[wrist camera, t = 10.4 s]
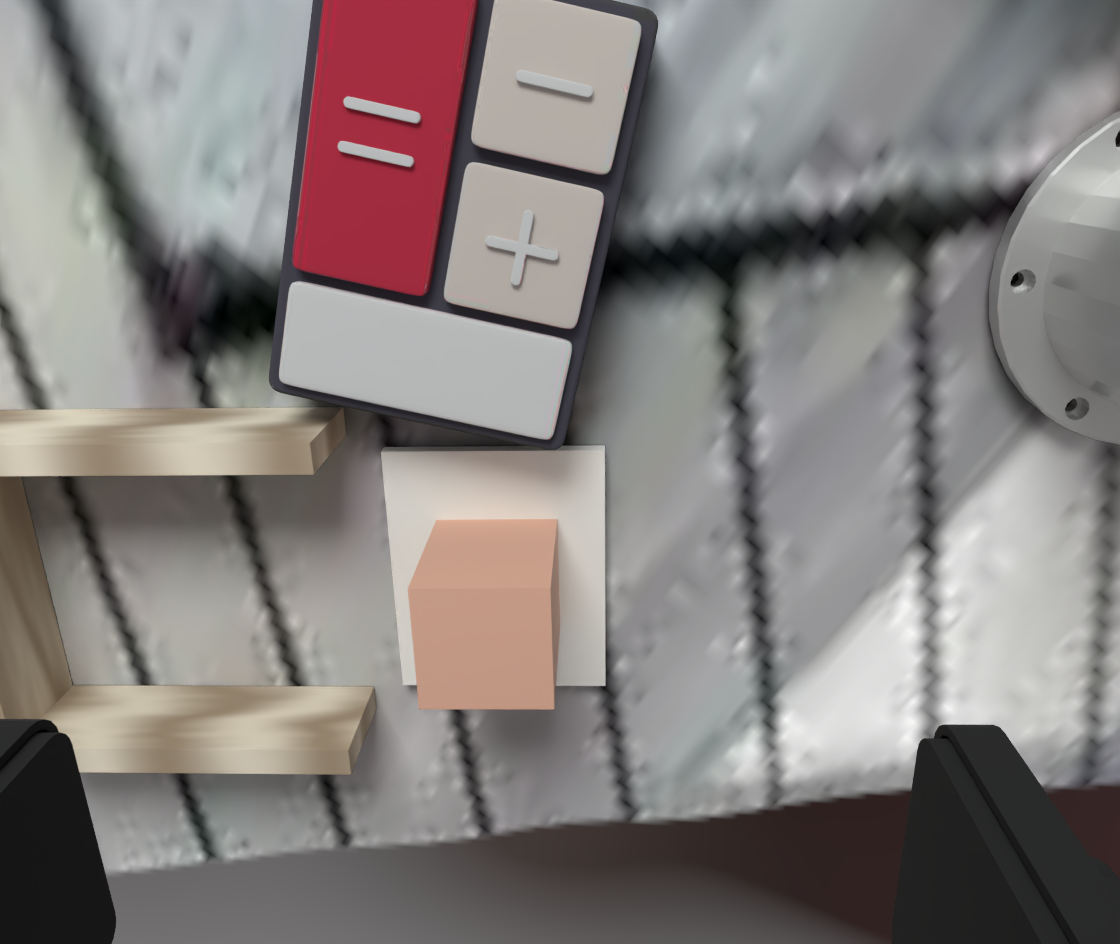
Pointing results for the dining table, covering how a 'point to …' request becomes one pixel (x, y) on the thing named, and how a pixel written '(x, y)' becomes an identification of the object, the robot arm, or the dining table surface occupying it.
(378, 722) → the dining table surface
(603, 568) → the mat
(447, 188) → the calculator
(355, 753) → the u-shaped frame
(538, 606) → the block
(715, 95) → the dining table surface
